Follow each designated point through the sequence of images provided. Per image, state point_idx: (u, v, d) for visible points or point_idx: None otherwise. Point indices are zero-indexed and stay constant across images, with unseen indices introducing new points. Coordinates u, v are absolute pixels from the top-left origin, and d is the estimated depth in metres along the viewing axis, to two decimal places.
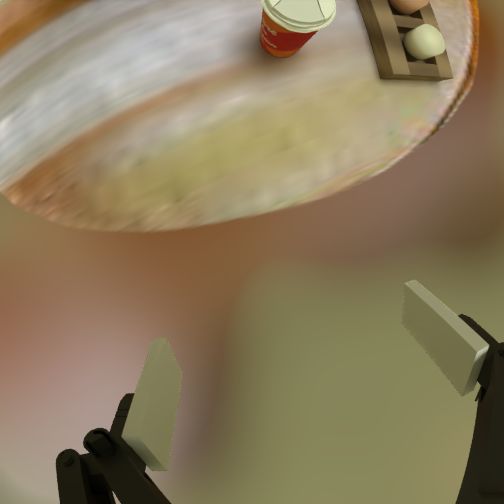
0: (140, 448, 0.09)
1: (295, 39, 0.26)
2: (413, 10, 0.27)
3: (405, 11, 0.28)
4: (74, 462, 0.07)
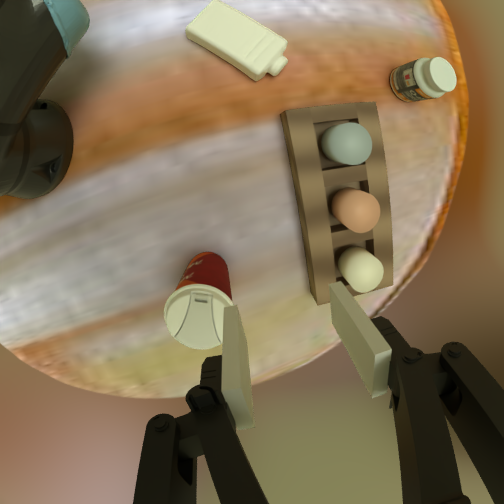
0: (236, 402, 0.11)
1: None
2: None
3: None
4: (168, 429, 0.09)
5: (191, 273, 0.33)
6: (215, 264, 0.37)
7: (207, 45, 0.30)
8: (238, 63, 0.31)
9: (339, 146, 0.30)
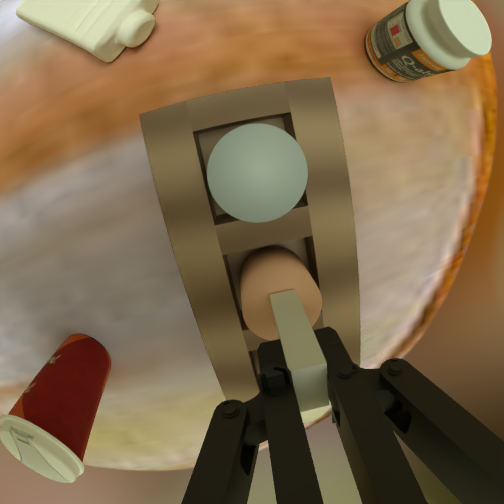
0: (301, 383, 0.11)
1: None
2: None
3: None
4: (238, 416, 0.09)
5: (33, 383, 0.17)
6: (72, 365, 0.21)
7: (40, 27, 0.13)
8: (71, 41, 0.14)
9: (223, 183, 0.14)
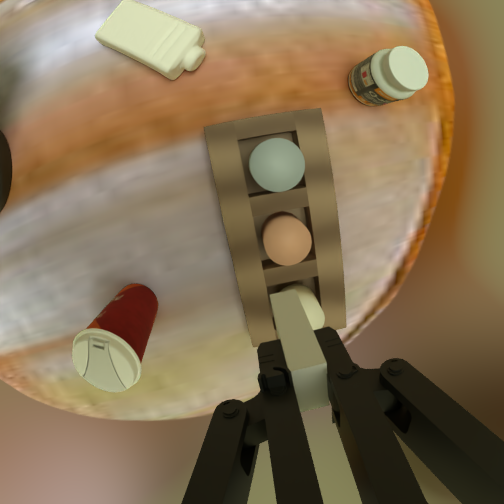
0: (301, 383, 0.11)
1: None
2: None
3: None
4: (238, 416, 0.09)
5: (104, 311, 0.29)
6: (134, 300, 0.32)
7: (118, 49, 0.25)
8: (147, 63, 0.26)
9: (259, 169, 0.25)
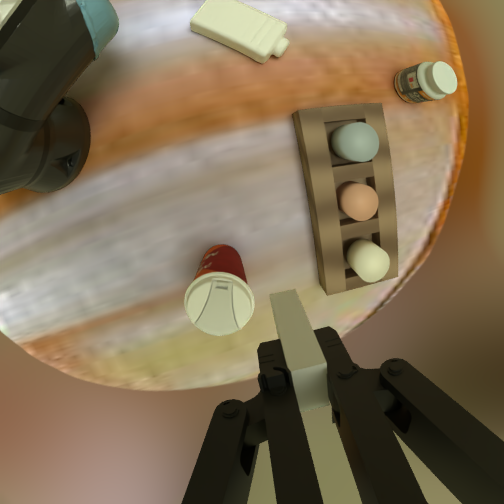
0: (301, 383, 0.11)
1: None
2: None
3: None
4: (238, 416, 0.09)
5: (209, 263, 0.35)
6: (231, 255, 0.39)
7: (212, 34, 0.31)
8: (244, 48, 0.32)
9: (349, 144, 0.32)
